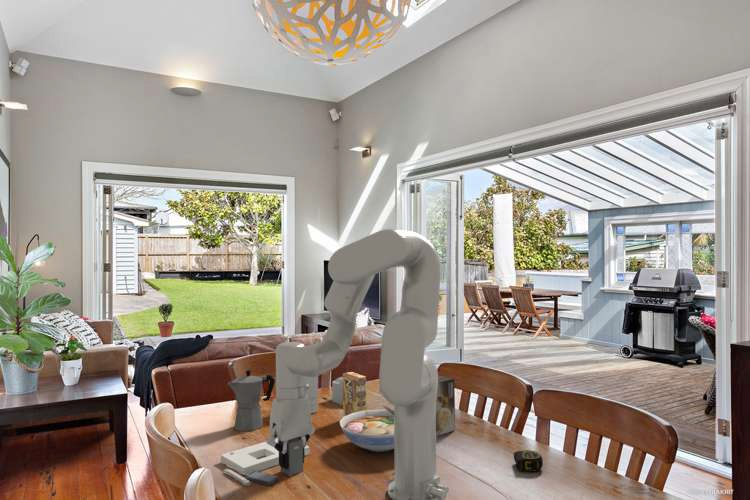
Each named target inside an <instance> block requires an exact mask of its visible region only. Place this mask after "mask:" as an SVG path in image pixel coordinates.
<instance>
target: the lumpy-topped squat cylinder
mask: <svg viewBox="0 0 750 500" xmlns="http://www.w3.org/2000/svg"><path fill="white" fill-rule="evenodd" d="M331 384H332V386H331V388H332V390H331V391H332V393H331V394H332V397H331V398H332V399H331V400H332V402H333V403H335V402H336V404H339V403H340V404H339V405H343V376H340V377H337V378H336V379H335V380H332V382H331ZM367 387H368V383H367V382H366V403H367V402H368V388H367ZM367 404H368V403H367Z"/></svg>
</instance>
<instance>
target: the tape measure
mask: <svg viewBox="0 0 750 500" xmlns="http://www.w3.org/2000/svg"><path fill="white" fill-rule="evenodd" d="M513 460H514V461H515V468H516V469H517V470H518V471H519V472H523V471H526V472H536V471H540V470H542V468H543V466H544V465H543V464H544V462H543V461H544V460H543V457H542V454H540V453H539V452H537V451H536V450H531V449H530V450H529V449H528V450H527V449H525V450H519V451H515V452H514V453H513Z"/></svg>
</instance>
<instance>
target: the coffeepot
mask: <svg viewBox="0 0 750 500" xmlns="http://www.w3.org/2000/svg"><path fill="white" fill-rule="evenodd" d="M251 372H252V371H251V370H250V369H247V370H245V374H246V375H244V376H240V377H237V378H234V379H233V380H230V381H229V382H227V385H228V386H229V387H230V388H231V390H232V392H233V393H234V395H235V401H236V403H237V408H236V414H235V419H234V420H235V421H234V428H233V429H234V430H236V431H238V430H240V431H239V432H252V431H253V430H254V431H257V429H258V430H260V429H262V428H263V427H264V426H263V424H264V423H263V416H262V411H261V405H260V400H261V393H262V385H263V384H262V383H265V382H269V384H268V389H267V390H266V397H264V398H262V400H263V401H264V402H267V401H270V399H271V396H272V393H273V390H274V387H275V385H276V378H274V377H273V375H271V374H266V375H260V376H256V375H255V376H254V375H251V374H252V373H251Z"/></svg>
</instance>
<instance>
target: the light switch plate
mask: <svg viewBox="0 0 750 500" xmlns="http://www.w3.org/2000/svg"><path fill="white" fill-rule="evenodd" d="M277 441H278V437H277V438H276V439H275V442H276V443H277ZM310 449H311V448H310V446H308V444H307V445H306V447H304V457H307V456H308V455H310V454H311V452H310V451H311V450H310ZM221 462H223V463H225V464H226V465H228V466H230V467H232V468H233V469H235V470H236V471H238V472H240V473H242V474H243V475H246V476H247V474H250V473H252V472H254V471H258V472H261V471H263V470H268V469H270V468H272V467H276V466H280V465H279V451H277V450H276V449H275V448H274V447H272V446H270V445H268V444H267V441H264V442H259V443H256V444H253V445H250V446H249V445H248V446H246V447H243V448H239V449H237V450H233V451H230V452H226V453H225V452H224V453H222V454H220V463H221ZM223 463H222V464H223ZM226 465H225V466H226ZM228 466H227V467H228ZM233 469H232V470H233ZM236 471H235V472H236ZM238 472H237V473H238ZM240 473H239V474H240ZM243 475H242V476H243Z"/></svg>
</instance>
